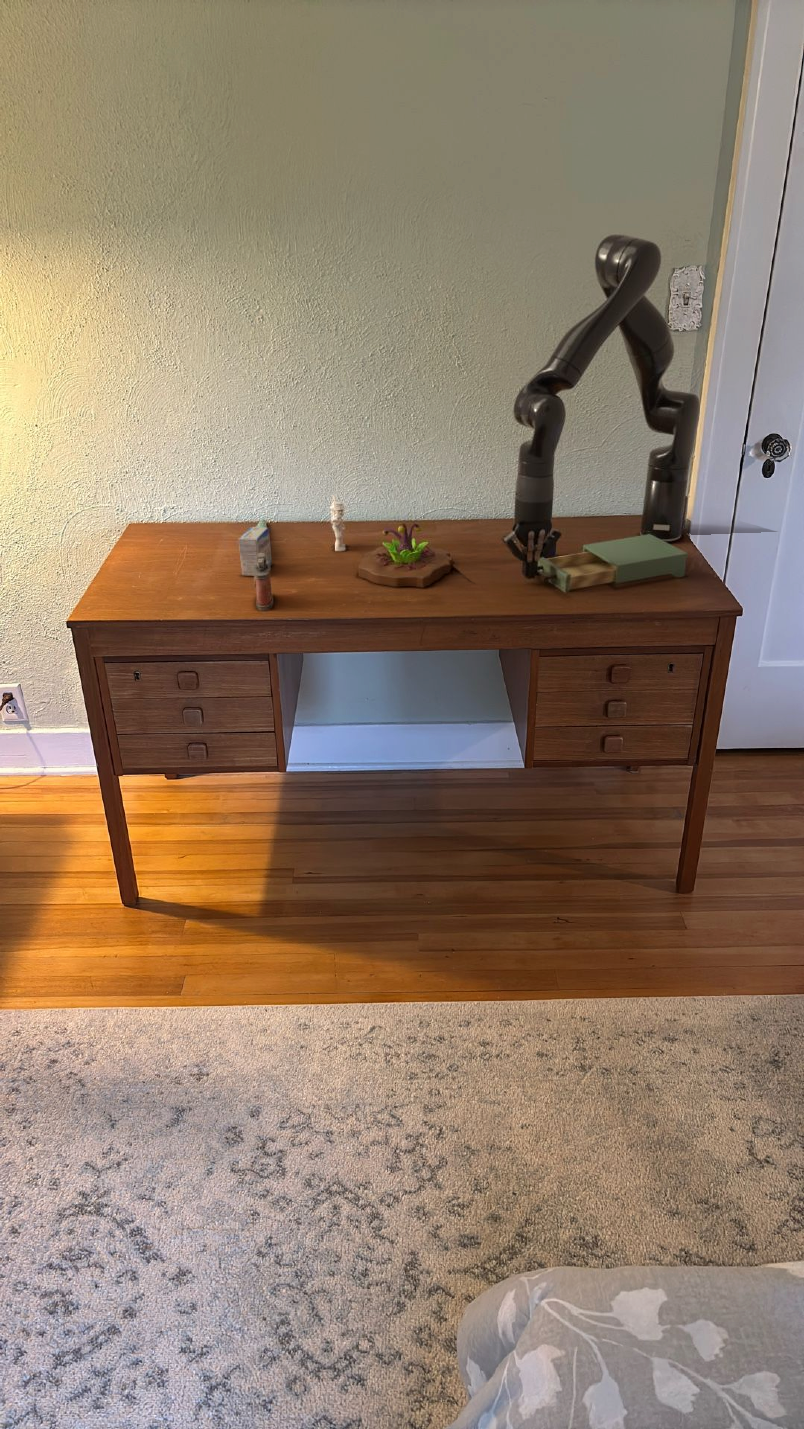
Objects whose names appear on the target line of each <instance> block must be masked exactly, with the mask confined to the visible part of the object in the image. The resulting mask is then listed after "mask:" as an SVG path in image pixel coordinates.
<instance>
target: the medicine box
mask: <svg viewBox="0 0 804 1429" xmlns="http://www.w3.org/2000/svg"><path fill="white" fill-rule="evenodd" d="M238 550H239V557H240V567H241V574H242V576H246V577H255V576H254V571H253V568H254V565H255V564H256V563H257V555H258V554H259V553H264V555H265V559H266V560H267V562H269V564H270V566H272V564H273V560H272V549H271V536H270V528H269V527H267V528H265V527H256V526H252V527H251V526H250V527H249V528H248V529H247V530H246V531H245V532H244V533H243V534H242V535H241V536H240V537H239V538H238Z"/></svg>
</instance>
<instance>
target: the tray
mask: <svg viewBox="0 0 804 1429" xmlns="http://www.w3.org/2000/svg"><path fill="white" fill-rule="evenodd" d="M535 577H537V578H538V579H539V580H540V581H542V582H544V583H548V582H549V583H550V584H551V585H554V586H555V587H556V588H558V589H559V590H560V591H562V592H564V593H569V592H570V590H576V589H581V588H587V587H592V586H598V585H603V584H610V583H615V577H616V567H615V566H614V565H612V564H610V563H609V562H607V561H605V560H604V559H602V558H600V557H598V556H597V555H595V554H593V553H592V552H590V551H589V552H583V551H582V552H579V553H571V554H568V555H559V556H555V557H553V558H547V559H546V558H544V557H542V558H540V559H539V561H538V570H537V575H535Z"/></svg>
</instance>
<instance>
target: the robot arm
mask: <svg viewBox="0 0 804 1429" xmlns="http://www.w3.org/2000/svg"><path fill="white" fill-rule="evenodd" d="M661 265H662V252H661V249H660V247H659V245H658V244H656V243H655V242H653V241H650V240H647V239H644V238H638V237H635V236H629V235H626V234H609V235H608V236H606V237H604V238H603V239H602V240H601V241H600V243H599V244H598V246H597V249H596V252H595V256H594V271H595V276H596V279H597V283H598V285H599V286H600V288H601V289H602V292H603V294H604V296H605V298H606V300H605V301H604V302H602V303H601V304H600V306H598V307H597V308H596V309H595V310H593V311H592V312H591V313H589V314H588V315H587V316H585V317H584V318H582V319H581V320H579V321H578V322H576V324H574V325H573V326H572V327H571V328H570V329H569V330H568V331H567V332H565V334H564V335H563V336H562V338H561V339H560V341H559V342H558V344H557V346H556V347H555V349H554V351H553V352H552V354H551V355H550V357H549V359H548V361H547V362H546V364H545V365H544V366H543V367H542V368H540V369H539V371H537V373H535V374H534V376H533V377H532V378H531V379H529V381H528V382H527V383H526V384H525V385H524V386H523V387H522V388H521V389H520V391H518V394H517V395H516V397H515V399H514V403H513V408H512V414H513V418H514V420H515V421H516V423H517V424H518V425H521V426H522V427H525V428H529V429H532V430H533V436H532V439H530V440H526V441H524V442H522V443H521V444H520V446H519V449H518V456H517V458H518V459H517V475H516V481H515V490H514V510H513V511H514V513H513V516H514V517H513V518H514V523H513V525H512V527H511V532H510V533H509V534H508V535H503V536H502V538H501V541H502V542H503V544H504V545H505V546H506V547H507V549H508V550H509V551H510V552H511V554H512V556H514V557H515V558H516V559H517V560H519V561H520V562H522V563H521V564H522V565H521V573H522V575H523V577H524V578H525V579H526V580H531V579H535V578H536V576H535V575H537V570H538V561H539V559H540V558H542V557H546V556H547V555H548V554H549V552H550V551H551V549H552V548H553V546H554V545H555V544H556V545H557V542H558V541H559V539H560V538H561V537H562V532H561V531H559V530H558V529H556V528H554V527H553V522H552V518H553V505H554V494H555V493H554V492H555V491H554V490H555V489H554V488H555V479H554V478H555V477H554V474H555V473H554V471H555V455H556V451H557V448H558V445H559V442H560V440H561V439H560V438H561V436H562V433H563V431H564V426H565V422H566V418H567V417H566V416H567V412H566V406H565V403H564V400H563V399H562V398H561V397H560V396H559V395H558V394H559V393H560V392H563V391H570V390H572V389H574V388H575V387H576V386H577V385H578V384H579V382H580V381H581V379H582V377H583V376H584V374H585V372H586V370H587V369H588V367H589V366H590V364H591V362H592V361H593V359H594V357H595V356H596V354H597V353H598V352H599V350H600V349H601V348H602V346H603V345H604V343H605V342H606V341H607V339H608V338H609V337H610V336H611V335H612V333H613V332H614V331H616V329H617V328H618V330H619V332H620V335H621V337H622V341H623V345H624V348H625V352H626V354H627V357H628V360H629V363H630V365H631V367H632V368H631V369H632V370H633V374H634V376H635V380H636V384H637V387H638V390H639V395H640V400H641V406H642V411H643V415H644V420H645V423H646V425H647V427H648V428H649V429H650V430H651V431H653V432H655V433H659V434H665V435H671V436H673V438H672V442H671V444H669V445H664V446H660V447H656V448H653V449H652V450H650V452H649V454H648V459H647V470H646V480H645V487H644V497H643V504H642V505H643V506H642V514H641V515H642V516H641V524H640V530H639V536H641V535H648V534H651V535H653V536H655V537H657V538H659V539H660V540H662V541H664V542H666V543H668V544H670V543H675V542H678V541H680V540H681V537H683V535H684V528H685V521H686V513H687V506H688V496H687V489H688V481H689V474H690V473H689V471H690V464H691V458H692V455H693V452H694V448H695V447H694V446H695V440H696V436H697V429H698V424H699V419H700V413H701V403H700V402H701V401H700V398H699V396H698V395H697V394H695V393H692V392H685V391H678V390H669V389H667V388H666V387H665V385H664V383H663V377H664V375H665V374H666V373H667V371H668V369H669V367H670V365H671V364H672V361H673V359H674V355H675V345H674V340H673V337H672V334H671V331H670V326H669V324H668V322H667V319H666V318H665V317H664V316H663V314H662V313H661V311H660V310H659V309H658V308H657V307H656V306H655V304H654V303H653V302H652V301H651V300H650V299H649V298H648V297H647V296H646V293H647V292H648V291H649V289H650V288H651V287H652V285H653V283H654V282H655V281H656V279H657V277H658V274H659V272H660V270H661ZM517 541H518V542H519V546H520V548H519V546H518V545H517Z"/></svg>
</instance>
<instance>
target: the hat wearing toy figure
mask: <svg viewBox="0 0 804 1429" xmlns="http://www.w3.org/2000/svg"><path fill="white" fill-rule="evenodd" d="M336 500H337V499H336V497H335V496H334V495H332V499H331V505H330V506H329V510H330V515H331V517H330V519H331V521H330V524H331V530H332V531H333V532H334V535H335V543H334V551H335V552H346V549H347V548H346V543H344V537H343V535H344V534H343V533H344V531H343V530H345V529H346V524H344V516H345V511H346V509H347V506H345V505H344V503H342V502H340V501H336Z"/></svg>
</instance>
